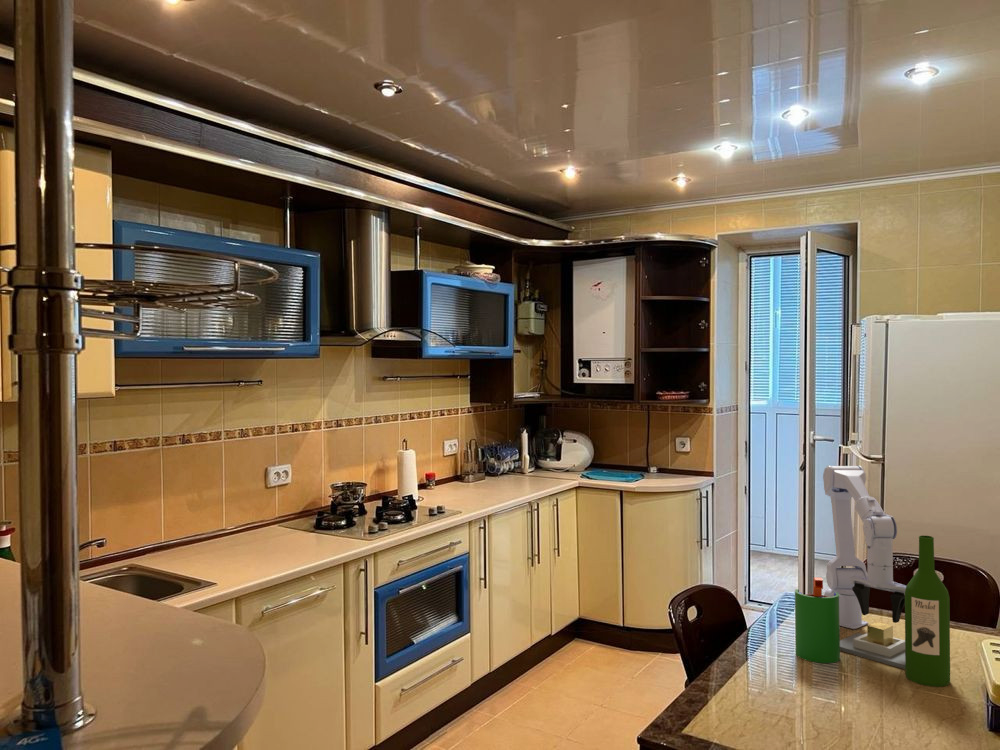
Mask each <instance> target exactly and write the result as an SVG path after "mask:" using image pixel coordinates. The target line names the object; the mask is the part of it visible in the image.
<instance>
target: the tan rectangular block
mask: <svg viewBox="0 0 1000 750" xmlns="http://www.w3.org/2000/svg"><path fill="white" fill-rule="evenodd" d="M866 627H867V629H866V630H867V632H866V633H867V640H868V642H872V643H875V644H879V645H883V646H886V647H888V646H890V645H892V644H893V637H894V625H893V624H889V623H888V624H887V623H885V622H884V623H883V622H880V621H875V622H873V623H871V624H867V625H866Z"/></svg>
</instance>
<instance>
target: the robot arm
mask: <svg viewBox="0 0 1000 750" xmlns="http://www.w3.org/2000/svg"><path fill="white" fill-rule="evenodd" d="M866 475H867V473H866V471H865V469H864V468H863V466H861V465H826V467H825V468H824V470H823V476H822V480H823V489H824V494H825V495H826V496H827V497H829V498H830V503H831V511H832V520H833V521H832V522H833V534H834V543H835V554H836V555H835V556H833V557H832V559H830V560H829V561H828V562H827V563H826V574H825V577H826V578H825V579H826V583H827V586H828V588H826V590H825V591H824V594H823V595H825V596H828V597H833V596H834V592H837V593H839V623H840V627H844V628H846V629H847V628H848V629H850V630H851V629H852V630H857V629H859V628H861V627H863V626H867V625H869V622H868V621H866V620H862V619H863V618H862V617H863V616H867V615H868V614H869V612H870V594H871V593H870V592H871V588H873V589H877V590H881V591H886V592H887V591H888V592H890V593H891V594H889V598H890V602H891V608H892V610H891V612H892V613H891V614H892V615H891V617H892V619H891V620H892V623H895V624H897V623H899V622H900V619H901V615H902V613H903V609H904V608H905V589H906V586H907V584H906V585H905V584H902V583H898V582H896V581H894V568H893V567H894V564H893V562H894V558H893V556H894V555H893V553H894V551H893V541H894V540H895V539H896V538H897V535H898V526H897V522H896V519H895V518H894V516H893V515H889V514H888V513H887V514H886V513H885V512H884V510H883V509H882V507H881V505H880V503H879V502H878V500H877V499H876V498H875V497H874V496H870V494H869V492H868V490H867V488H866V479H867V478H866V477H867V476H866ZM851 499H853V500H854V501H855V505H854V508H855V510H856V513H857V515H858V516H859V518H860V520H861V522H862V523H863V524H862V531H863V534H864V542H865V545H867V557H866V559H867V563H866V564H867V566H866V564H865V562H864V561H862V560H861V559H860V558H858V557H856V550H855V541H854V532H853V531H854V529H853V520H852V519H853V518H852V509H851Z"/></svg>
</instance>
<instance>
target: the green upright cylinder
mask: <svg viewBox="0 0 1000 750" xmlns="http://www.w3.org/2000/svg"><path fill="white" fill-rule="evenodd" d="M812 583H813V585H812V586H813V588H812V589H813V592H812V593H806V594H803V593H802V592H800V589H799V588H798V589H797V588H796V589H795V590H794V622H795V624H794V626H795V628H794V630H795V633H794V635H795V637H794V638H795V655H796V656H797V657H798V656H799V657H798V658H800V659H802V658H803V659H802V660H805V661H808V662H814V663H819V664H820V663H821V664H831V663H833V664H834V663H836V662H839V661H841V660H840V659H841V651H840V640H841V637H840V636H841V635H840V633H841V631H840V630H841V629H840V627H841V626H840V623H839V593H837V592H834V596H833V597H828V596H825V595H824V594H823V593H822V592H823V589H824V579H823V577H817V576H816V577H815V576H814V577H813V582H812Z"/></svg>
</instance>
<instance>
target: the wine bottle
mask: <svg viewBox="0 0 1000 750" xmlns="http://www.w3.org/2000/svg"><path fill="white" fill-rule="evenodd" d="M934 542H935V537H933V536H932V535H931V536H930V535H919V536H918V569H917V571H916V573H914V575H913V576H912V578H911V579H910V581H908V583H907V584H906V589H905V605H904V638H905V639H904V640H905V669H904V670H905V675H906V679H908V680H909V681H911V682H913V683H916V684H918V685H921V684H922V686H926V685H927V686H926V687H933V686H935V688H936V687H937V688H941V686H943V687H946V686H948V684H949V685H950V682H951V633H950V632H951V631H950V630H951V628H950V627H951V619H950V617H951V616H950V613H951V612H950V611H951V610H950V606H951V605H950V603H951V602H950V594H949V590H948V589H947V587H946V586H945V584H944V583H943V581H942V580H941V578H940V576H939V575H938V574H937V572H936V569H935V546H934V545H935V543H934Z"/></svg>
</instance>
